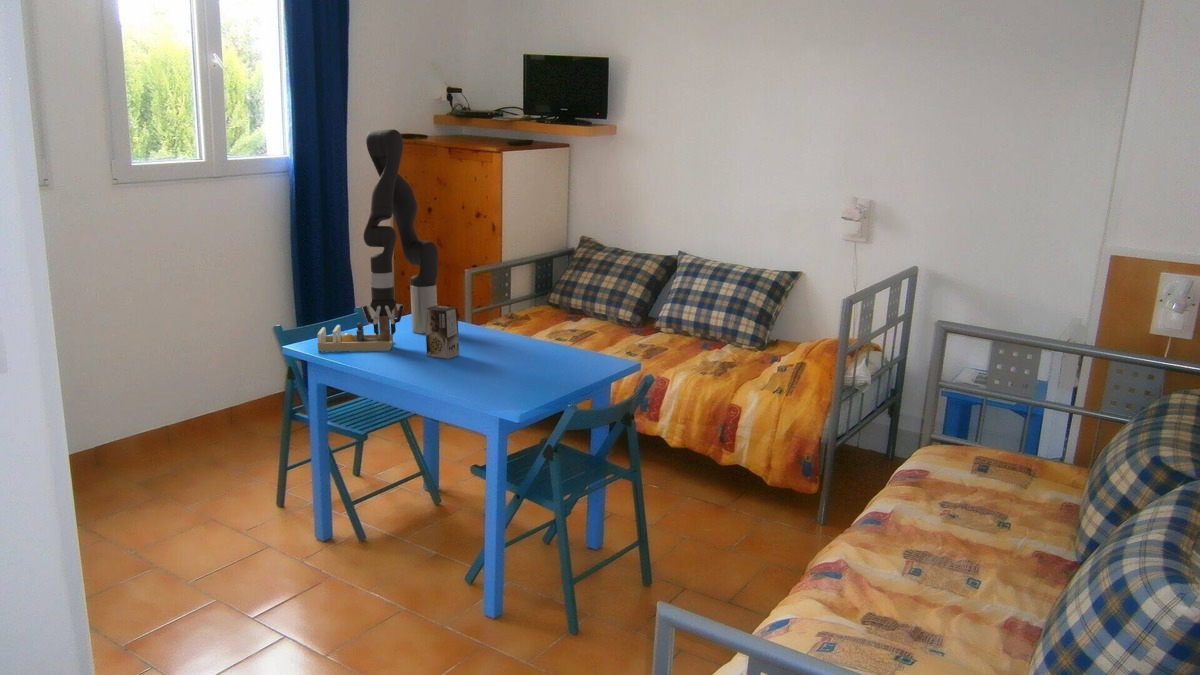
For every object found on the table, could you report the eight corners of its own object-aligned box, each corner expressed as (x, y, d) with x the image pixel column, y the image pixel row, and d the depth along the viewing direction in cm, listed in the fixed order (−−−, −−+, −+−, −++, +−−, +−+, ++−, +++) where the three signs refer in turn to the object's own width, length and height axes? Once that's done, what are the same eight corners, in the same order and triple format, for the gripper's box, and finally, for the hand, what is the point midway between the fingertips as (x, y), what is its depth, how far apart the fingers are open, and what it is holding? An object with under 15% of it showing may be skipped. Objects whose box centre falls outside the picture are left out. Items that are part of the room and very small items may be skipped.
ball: (354, 342, 321) (354, 331, 320) (353, 345, 317) (352, 334, 316) (342, 343, 320) (342, 331, 319) (341, 346, 317) (340, 334, 316)
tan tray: (393, 342, 326) (392, 333, 325) (389, 350, 315) (389, 341, 314) (323, 343, 323) (323, 335, 323) (318, 352, 312) (317, 343, 312)
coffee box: (459, 355, 310) (458, 307, 306) (448, 359, 304) (446, 310, 301) (437, 351, 314) (435, 304, 310) (425, 356, 308) (423, 308, 305)
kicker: (390, 340, 323) (389, 313, 321) (388, 344, 317) (387, 316, 315) (358, 340, 322) (357, 313, 320) (356, 345, 316) (354, 317, 314)
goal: (341, 341, 323) (340, 324, 322) (336, 348, 314) (335, 331, 312) (323, 341, 323) (322, 325, 321) (318, 348, 313) (317, 331, 312)
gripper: (404, 282, 320) (407, 331, 324) (362, 283, 318) (364, 332, 322) (403, 286, 313) (405, 336, 317) (359, 287, 311) (362, 337, 315)
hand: (384, 334), depth 319 cm, fingers open, 4 cm apart
